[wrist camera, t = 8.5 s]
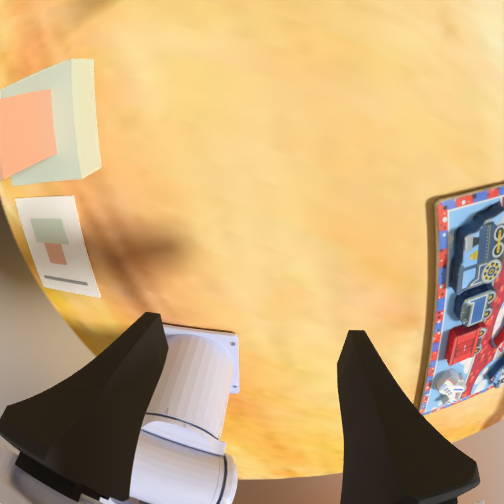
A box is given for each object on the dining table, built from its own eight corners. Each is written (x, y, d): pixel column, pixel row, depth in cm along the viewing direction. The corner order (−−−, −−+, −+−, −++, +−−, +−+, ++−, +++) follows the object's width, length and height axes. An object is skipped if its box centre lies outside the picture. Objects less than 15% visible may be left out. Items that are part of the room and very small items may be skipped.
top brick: (57, 153, 15) (4, 179, 11) (18, 161, 16) (-29, 186, 11) (51, 88, 13) (-7, 100, 9) (12, 104, 13) (-40, 120, 9)
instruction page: (101, 296, 25) (99, 298, 24) (44, 285, 25) (43, 287, 25) (73, 195, 19) (71, 196, 19) (16, 198, 20) (14, 199, 20)
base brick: (105, 165, 19) (81, 178, 16) (35, 173, 19) (12, 186, 17) (97, 59, 15) (71, 58, 12) (25, 85, 15) (0, 90, 13)
